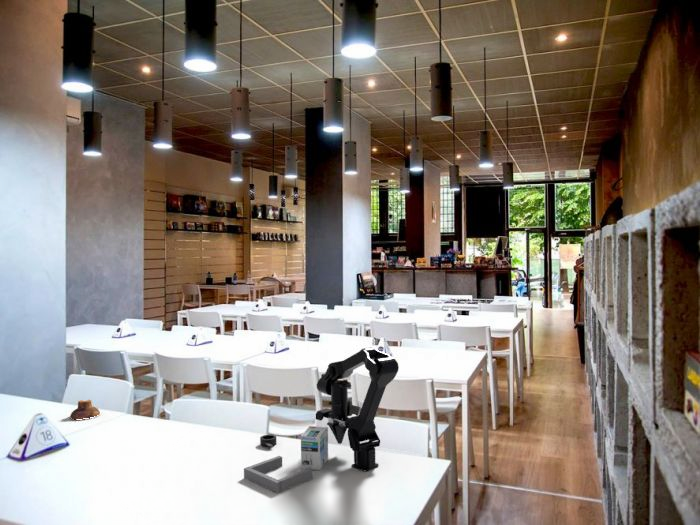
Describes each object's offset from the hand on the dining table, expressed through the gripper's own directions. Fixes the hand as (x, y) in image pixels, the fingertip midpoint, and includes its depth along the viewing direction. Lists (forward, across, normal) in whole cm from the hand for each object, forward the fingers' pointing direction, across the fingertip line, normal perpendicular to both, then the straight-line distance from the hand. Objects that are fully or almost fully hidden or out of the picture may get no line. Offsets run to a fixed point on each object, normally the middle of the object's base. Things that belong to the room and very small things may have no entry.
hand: (339, 443), depth 184 cm
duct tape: (+4, +26, +11) cm, 28 cm away
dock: (+4, 0, +27) cm, 27 cm away
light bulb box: (+4, 0, +12) cm, 12 cm away
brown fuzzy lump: (+4, +114, +41) cm, 121 cm away
